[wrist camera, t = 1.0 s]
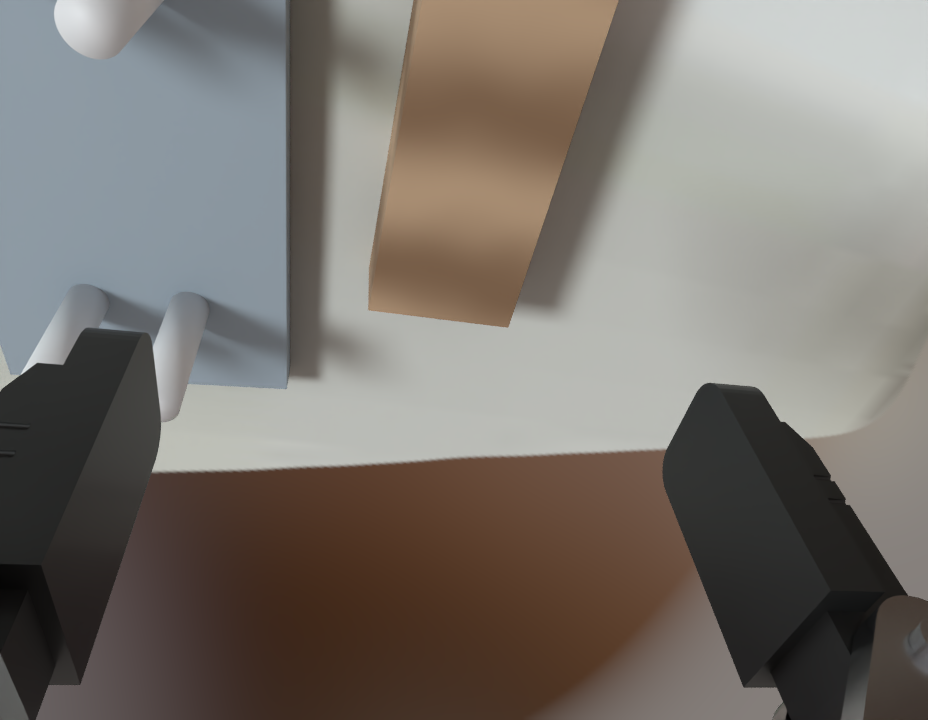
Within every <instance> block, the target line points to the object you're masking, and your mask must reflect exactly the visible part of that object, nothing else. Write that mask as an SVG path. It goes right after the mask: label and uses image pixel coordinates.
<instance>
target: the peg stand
mask: <svg viewBox="0 0 928 720" xmlns="http://www.w3.org/2000/svg"><path fill="white" fill-rule="evenodd" d="M85 328H101V329H112V330H124V331H135V332H146V333H148V334H149V335H150V337H151V340H152V346H153V354H154V362H155V370H156V379H157V387H158V396H159V404H160V413H161V422H167V421H170V420H172V419H174V418H175V417H176V416H177V415H178V414H179V411H180V407H181V404H182V401H183V398H184V394H185V391H186V388H187V384H201V385H220V386H239V387H258V388H277V389H287V384H288V377H289V370H290V0H0V345H1V348H2V351H3V354H4V356H5V359H6V362H7V365H8V368H9V371H10V374H13V375H21V374H23V373H24V372H25V371H27V370H28V369H30V368H31V367H32V366H34V365H35V364H36V363H47V364H60V365H63V364H64V362H65V360H66V359H67V357H68V355H69V353H70V351H71V349H72V348H73V346H74V344H75V342H76V340H77V338H78V337H79V335H80V333H81V332H82V331H83V330H84V329H85Z"/></svg>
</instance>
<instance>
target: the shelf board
mask: <svg viewBox="0 0 928 720" xmlns="http://www.w3.org/2000/svg"><path fill="white" fill-rule="evenodd" d="M618 1H619V0H414V1H413V7H412V13H411V19H410V25H409V31H408V37H407V43H406V49H405V55H404V61H403V67H402V73H401V79H400V85H399V91H398V97H397V103H396V109H395V115H394V121H393V127H392V133H391V139H390V145H389V151H388V157H387V163H386V169H385V175H384V181H383V187H382V194H381V200H380V206H379V212H378V218H377V224H376V230H375V236H374V242H373V248H372V254H371V260H370V266H369V305H368V310H371V311H379V312H387V313H395V314H403V315H411V316H419V317H427V318H435V319H443V320H451V321H459V322H467V323H475V324H483V325H491V326H499V327H507V328H508V327H509V324H510V321H511V318H512V315H513V312H514V309H515V306H516V303H517V300H518V297H519V294H520V291H521V288H522V285H523V282H524V279H525V276H526V273H527V270H528V267H529V264H530V261H531V258H532V255H533V253H534V250H535V247H536V244H537V241H538V238H539V235H540V232H541V229H542V226H543V223H544V220H545V217H546V214H547V211H548V208H549V205H550V202H551V199H552V196H553V193H554V190H555V187H556V184H557V182H558V179H559V176H560V173H561V170H562V167H563V164H564V161H565V158H566V155H567V152H568V149H569V146H570V143H571V140H572V137H573V134H574V131H575V128H576V125H577V122H578V119H579V116H580V113H581V110H582V108H583V105H584V102H585V99H586V96H587V93H588V90H589V87H590V84H591V81H592V78H593V75H594V72H595V69H596V66H597V63H598V60H599V57H600V54H601V51H602V48H603V45H604V42H605V39H606V36H607V34H608V31H609V28H610V25H611V22H612V19H613V16H614V13H615V10H616V7H617V4H618Z"/></svg>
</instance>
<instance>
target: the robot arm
mask: <svg viewBox="0 0 928 720" xmlns="http://www.w3.org/2000/svg"><path fill="white" fill-rule="evenodd" d="M160 432H161V413H160V404H159V396H158V387H157V379H156V370H155V362H154V354H153V346H152V340H151V337H150V335H149V334H148V333H146V332H135V331H124V330H112V329H101V328H85V329H84V330H83V331H82V332H81V333H80V335H79V337H78V338H77V340H76V342H75V344H74V346H73V348H72V349H71V351H70V353H69V355H68V357H67V359H66V360H65V362H64V364H63V365H60V364H47V363H36V364H35V365H34V366H32V367H31V368H30V369H28V370H27V371H25V372H24V373H23V374H21V375H20V376H19V377H17V378H16V379H15V380H13V381H12V382H11V383H9V384H8V385H7V386H5V387H4V388H3V389H2V390H1V392H0V720H36V717H37V715H38V712H39V709H40V706H41V703H42V701H43V698H44V696H45V693H46V690H47V688H48V685H80V684H81V681H82V678H83V675H84V672H85V669H86V666H87V663H88V660H89V657H90V654H91V651H92V648H93V645H94V642H95V639H96V636H97V633H98V630H99V627H100V624H101V621H102V618H103V615H104V612H105V609H106V606H107V603H108V600H109V597H110V594H111V591H112V588H113V585H114V582H115V579H116V576H117V573H118V570H119V567H120V564H121V561H122V559H123V555H124V553H125V549H126V546H127V544H128V541H129V537H130V534H131V532H132V528H133V525H134V523H135V520H136V517H137V513H138V511H139V508H140V504H141V502H142V498H143V496H144V493H145V490H146V487H147V484H148V481H149V478H150V475H151V472H152V469H153V466H154V463H155V460H156V456H157V452H158V447H159V441H160ZM830 477H831V475H830V474H829V472H828V470H827V469H826V467H825V466H824V464H823V463H822V461H821V460H820V458H819V456H818V455H817V453H816V452H815V450H814V449H813V447H811V445H809V444H808V443H807V442H806V441H805V440H804V439H803V438H802V437H801V436H800V435H799V434H797V433H796V432H795V431H794V430H793V429H792V428H791V427H790V426H789V425H788V424H787V423H785V422H780V420H779V419H778V417H777V415H776V414H775V412H774V411H773V409H772V407H771V406H770V404H769V402H768V401H767V399H766V398H765V396H764V395H763V393H762V392H761V391H760V390H759V389H757V388H755V387H751V386H739V385H728V384H716V383H707V384H704V385H703V386H702V387H701V388H700V389H699V390H698V391H697V393H696V395H695V397H694V399H693V400H692V402H691V404H690V406H689V408H688V410H687V412H686V414H685V416H684V418H683V419H682V421H681V423H680V425H679V427H678V429H677V431H676V433H675V435H674V437H673V439H672V440H671V442H670V444H669V446H668V448H667V450H666V453H665V456H664V461H663V482H664V487H665V490H666V493H667V495H668V497H669V500H670V503H671V505H672V508H673V510H674V513H675V515H676V518H677V520H678V523H679V526H680V528H681V531H682V533H683V535H684V538H685V541H686V543H687V546H688V548H689V550H690V553H691V556H692V558H693V561H694V563H695V566H696V568H697V571H698V574H699V576H700V579H701V581H702V584H703V586H704V589H705V591H706V594H707V596H708V599H709V601H710V603H711V606H712V609H713V611H714V614H715V616H716V619H717V621H718V624H719V627H720V629H721V632H722V634H723V636H724V639H725V642H726V644H727V646H728V649H729V652H730V654H731V657H732V659H733V662H734V664H735V667H736V669H737V672H738V674H739V677H740V679H741V682H742V685H743V687H777V688H778V691H779V693H780V695H781V697H782V700H783V703H782V704H781V705H780V706H779V707H778V708H777V710H776V711H775V713H774V716H773V719H772V720H928V601H926V600H924V599H921V598H917V597H912V596H908V595H907V593H906V592H905V590H904V589H903V587H902V586H901V584H900V583H899V581H898V580H897V578H896V576H895V575H894V573H893V572H892V570H891V569H890V567H889V566H888V564H887V562H886V561H885V559H884V558H883V556H882V555H881V553H880V552H879V550H878V548H877V547H876V545H875V544H874V542H873V541H872V539H871V538H870V536H869V534H868V533H867V531H866V530H865V528H864V527H863V525H862V524H861V522H860V520H859V519H858V517H857V516H856V514H855V513H854V511H853V509H852V508H851V506H850V505H846V504H845V500H846V499H845V497H844V495H843V494H842V492H841V491H840V489H839V488H838V486H837V485H836V483H835V482H834V481H831V480H830Z"/></svg>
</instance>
